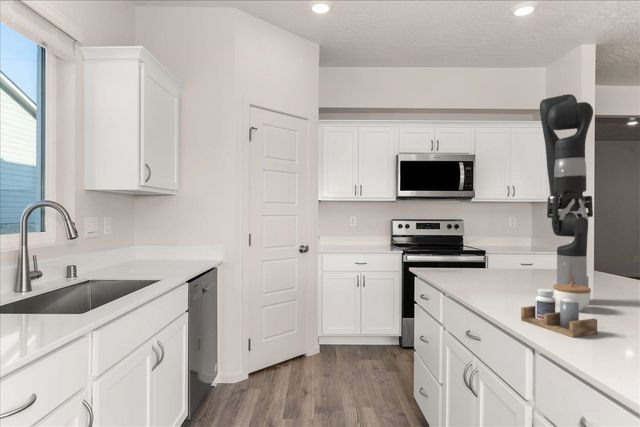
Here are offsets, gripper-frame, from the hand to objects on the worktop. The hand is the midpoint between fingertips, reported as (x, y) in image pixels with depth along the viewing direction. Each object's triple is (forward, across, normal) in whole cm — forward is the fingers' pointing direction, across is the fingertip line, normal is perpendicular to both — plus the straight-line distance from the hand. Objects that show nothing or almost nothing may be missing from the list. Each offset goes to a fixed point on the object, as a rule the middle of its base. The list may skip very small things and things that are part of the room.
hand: (570, 233), depth 107 cm
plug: (+27, 0, 0) cm, 27 cm away
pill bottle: (+27, 0, -8) cm, 28 cm away
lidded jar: (+28, -22, -17) cm, 40 cm away
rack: (+28, 0, -4) cm, 28 cm away
